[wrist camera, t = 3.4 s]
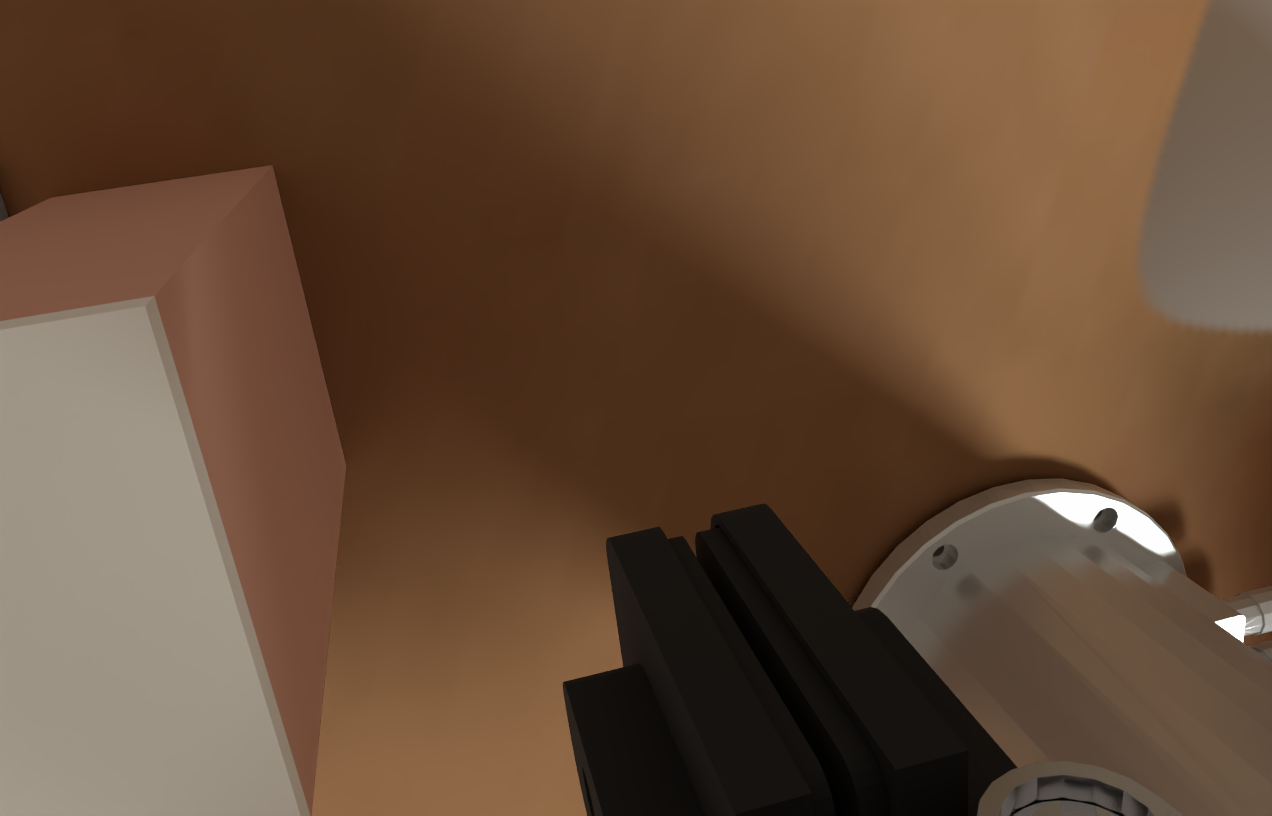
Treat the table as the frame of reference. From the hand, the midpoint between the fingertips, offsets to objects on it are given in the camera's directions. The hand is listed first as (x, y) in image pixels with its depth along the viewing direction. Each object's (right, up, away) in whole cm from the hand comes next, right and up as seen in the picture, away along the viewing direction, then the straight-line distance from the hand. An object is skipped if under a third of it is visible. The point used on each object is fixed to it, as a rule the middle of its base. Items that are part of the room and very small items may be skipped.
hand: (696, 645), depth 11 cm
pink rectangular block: (-11, +4, +15) cm, 19 cm away
